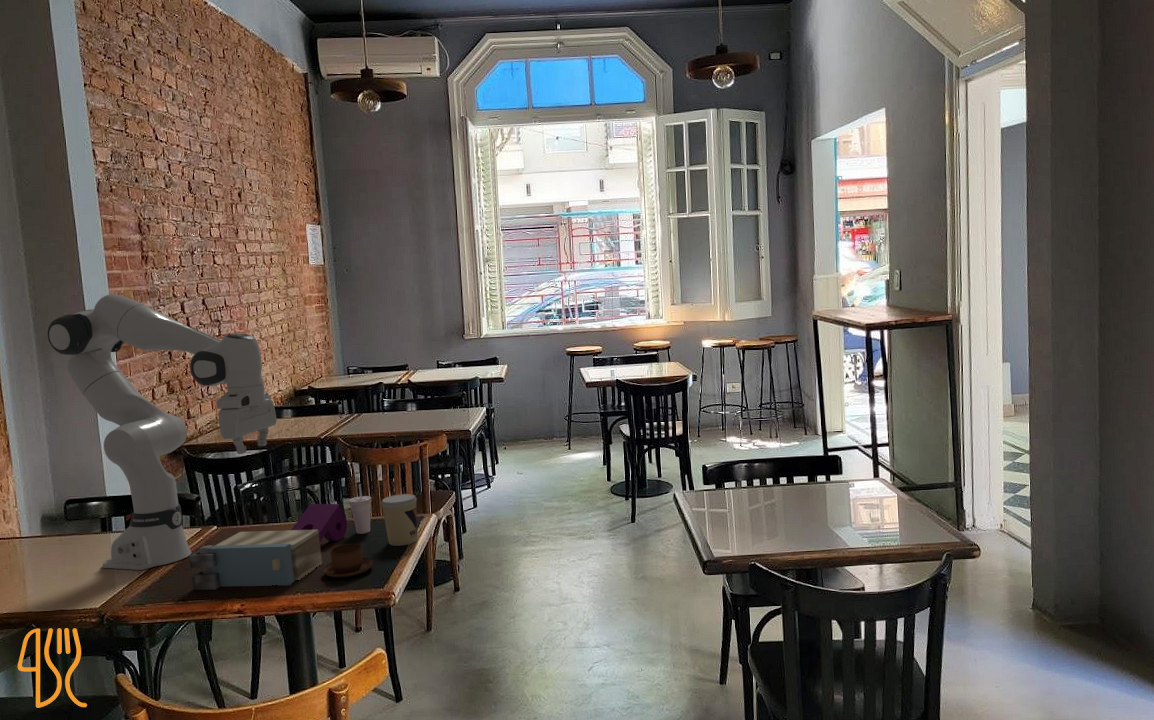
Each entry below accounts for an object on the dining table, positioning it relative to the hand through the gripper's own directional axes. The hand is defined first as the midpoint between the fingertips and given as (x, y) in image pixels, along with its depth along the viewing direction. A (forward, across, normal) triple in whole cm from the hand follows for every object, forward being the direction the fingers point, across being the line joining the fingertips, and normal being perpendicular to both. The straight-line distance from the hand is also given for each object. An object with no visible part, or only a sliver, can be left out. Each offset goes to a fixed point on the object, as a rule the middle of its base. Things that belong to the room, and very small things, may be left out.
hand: (252, 449), depth 221 cm
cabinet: (+30, +10, +5) cm, 32 cm away
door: (+30, +16, +5) cm, 35 cm away
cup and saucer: (+30, +8, +28) cm, 42 cm away
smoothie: (+30, -25, +16) cm, 42 cm away
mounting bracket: (+30, -14, +7) cm, 34 cm away
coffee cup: (+30, -16, +32) cm, 47 cm away
